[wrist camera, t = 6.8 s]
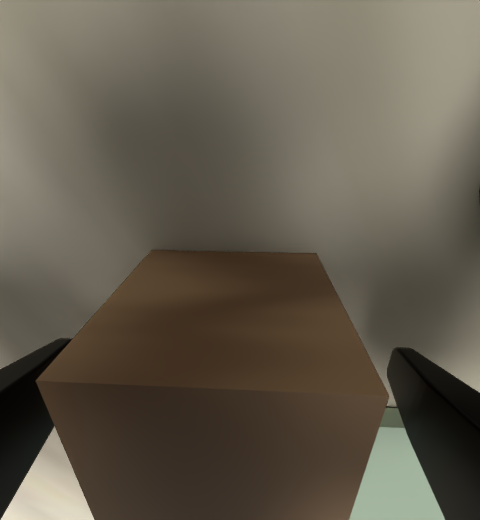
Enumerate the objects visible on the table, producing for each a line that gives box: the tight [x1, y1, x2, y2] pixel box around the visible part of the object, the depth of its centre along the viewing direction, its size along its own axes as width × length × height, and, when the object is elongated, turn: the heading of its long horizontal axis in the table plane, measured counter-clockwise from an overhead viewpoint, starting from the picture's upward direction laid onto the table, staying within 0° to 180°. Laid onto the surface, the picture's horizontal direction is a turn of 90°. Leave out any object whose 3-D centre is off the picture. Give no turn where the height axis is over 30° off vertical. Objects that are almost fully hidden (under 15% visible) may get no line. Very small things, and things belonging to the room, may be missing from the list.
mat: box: [349, 408, 445, 520], centre depth 13 cm, size 13×12×1 cm
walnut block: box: [36, 250, 389, 520], centre depth 7 cm, size 5×5×5 cm
